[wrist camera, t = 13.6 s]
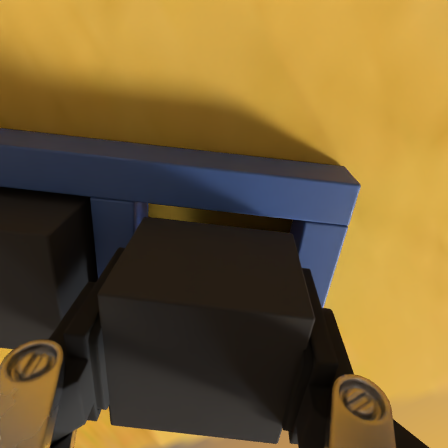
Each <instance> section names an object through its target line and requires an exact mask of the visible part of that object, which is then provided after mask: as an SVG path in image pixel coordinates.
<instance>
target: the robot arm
mask: <svg viewBox="0 0 448 448" xmlns="http://www.w3.org/2000/svg"><path fill="white" fill-rule="evenodd" d="M124 249H125V248H122V247H119V248H118V249H117V251H116V252H115V254H114V255H113V257H112V258H111V260H110V261H109V263H108V265H107V266H106V268H105V269H104V271H103V272H102V274H101V275H100V277H99V279H98V280H97V282H88V283H87V284H86V285H85V287H84V288H83V290H82V291H81V293H80V294H79V295H78V297H77V298H76V300H75V301H74V303H73V304H72V306H71V307H70V309H69V310H68V312H67V313H66V315H65V316H64V317H63V319H62V320H61V322H60V323H59V325H58V326H57V328H56V329H55V331H54V332H53V334H52V335H51V337H50V338H49V339H39V340H33V341H29V342H27V343H24V344H22V345H20V346H18V347H17V348H15V349H14V350H12V351H11V352H10V353H9V354H8V355H7V356H6V357H5V358H4V360H3V361H2V363H1V364H0V448H74V445H75V438H76V432H77V428H79V427H81V426H82V425H84V424H85V423H86V421H87V420H91V421H97V419H98V417H99V414H100V412H101V409H103V410H106V409H107V408H108V406H109V404H110V402H109V392H108V383H107V373H106V363H105V353H104V344H103V334H102V326H100V316H99V307H98V297H97V294H98V292H99V290H100V289H101V287H102V285H103V284H104V282H105V281H106V279H107V277H108V276H109V274H110V272H111V271H112V269H113V267H114V266H115V264H116V262H117V261H118V259H119V257H120V256H121V254H122V253H123V251H124ZM302 270H303V274H304V278H305V282H306V285H307V289H308V293H309V297H310V300H311V304H312V308H313V312H314V315H315V322H314V325H313V328H312V332H311V335H310V338H309V342H308V345H307V348H306V349H305V350H303V354H302V357H301V361H300V364H299V367H298V371H297V374H296V377H295V381H294V384H293V387H292V391H291V394H290V397H289V401H288V404H287V408H286V411H285V414H284V418H283V421H282V428H283V430H286V431H289V440H290V443H291V444H298V446H299V448H429V447H427V446H426V445H425V444H424V443H423V442H421V441H420V440H419V439H418V438H416V437H415V436H414V435H413V434H411V433H410V432H409V431H407V430H406V429H405V428H404V427H402V426H401V425H400V424H399V423H397V422H396V421H395V420H394V419H393V417H392V409H391V405H390V402H389V400H388V398H387V396H386V395H385V393H384V392H383V391H382V390H381V389H380V388H379V387H378V386H377V385H376V384H374V383H373V382H372V381H370V380H369V379H366V378H364V377H362V376H359V375H354V373H353V370H352V367H351V364H350V361H349V358H348V355H347V352H346V349H345V346H344V344H343V341H342V338H341V335H340V332H339V329H338V326H337V323H336V320H335V317H334V314H333V312H332V310H331V309H327V308H322V307H321V304H320V300H319V297H318V294H317V290H316V287H315V284H314V280H313V277H312V274H311V270H310V269H308V268H302Z"/></svg>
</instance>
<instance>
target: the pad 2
mask: <svg viewBox="0 0 448 448" xmlns="http://www.w3.org/2000/svg"><path fill="white" fill-rule="evenodd" d="M97 297H98V307H99V316H100V326H102V334H103V344H104V353H105V363H106V373H107V383H108V392H109V402H110V404H109V411H110V421H111V425H115V426H124V427H133V428H142V429H150V430H159V431H168V432H177V433H185V434H194V435H203V436H212V437H220V438H229V439H238V440H247V441H256V442H264V443H273V444H277V443H278V441H279V437H280V434H281V431H282V421H283V418H284V414H285V411H286V408H287V404H288V401H289V397H290V394H291V391H292V387H293V384H294V381H295V377H296V374H297V371H298V367H299V364H300V361H301V357H302V354H303V350H305V349H306V348H307V345H308V342H309V338H310V335H311V332H312V328H313V325H314V322H315V315H314V312H313V308H312V304H311V300H310V297H309V293H308V289H307V285H306V282H305V278H304V274H303V270H302V267H301V263H300V259H299V255H298V252H297V248H296V244H295V240H294V236H293V234H292V233H285V232H276V231H267V230H258V229H249V228H240V227H232V226H223V225H214V224H205V223H196V222H187V221H178V220H169V219H160V218H151V217H144V218H143V220H142V221H141V223H140V225H139V226H138V228H137V230H136V231H135V233H134V234H133V236H132V238H131V239H130V241H129V243H128V244H127V246H126V248H125V249H124V251H123V253H122V254H121V256H120V257H119V259H118V261H117V262H116V264H115V266H114V267H113V269H112V271H111V272H110V274H109V276H108V277H107V279H106V281H105V282H104V284H103V285H102V287H101V289H100V290H99V292H98V294H97Z"/></svg>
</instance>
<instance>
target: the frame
mask: <svg viewBox="0 0 448 448" xmlns="http://www.w3.org/2000/svg"><path fill="white" fill-rule="evenodd" d="M0 187H7V188H16V189H25V190H34V191H43V192H52V193H61V194H70V195H79V196H88V197H91V198H90V202H91V212H92V223H93V233H94V243H95V253H96V263H97V274H98V279H99V277H100V275H101V274H102V272H103V271H104V269H105V268H106V266H107V265H108V263H109V261H110V260H111V258H112V257H113V255H114V254H115V252H116V251H117V249H118V248H119V247H122V248H126V246H127V244H128V243H129V241H130V239H131V238H132V236H133V234H134V233H135V231H136V230H137V228H138V226H139V225H140V223H141V221H142V220H143V218H144V217H148V203H150V204H159V205H168V206H177V207H186V208H195V209H204V210H213V211H222V212H231V213H240V214H249V215H258V216H267V217H275V218H284V219H292V224H291V229H290V233H292V234H293V236H294V240H295V244H296V248H297V252H298V255H299V259H300V263H301V267H302V268H308V269H310V270H311V274H312V277H313V280H314V284H315V287H316V290H317V294H318V297H319V300H320V304H321V307H322V308H323V307H324V304H325V300H326V297H327V294H328V291H329V287H330V284H331V281H332V278H333V274H334V271H335V268H336V265H337V261H338V258H339V255H340V252H341V249H342V245H343V242H344V239H345V236H346V232H347V229H348V226H347V225H349V223H350V219H351V216H352V213H353V210H354V206H355V203H356V200H357V197H358V193H359V190H360V187H361V186H360V184H359V183H358V181H357V180H356V179H355V178H354V177H353V176H352V175H351V174H350V172H349V171H348V170H347V169H346V168H345V167H344V166H336V165H327V164H318V163H309V162H300V161H291V160H282V159H273V158H264V157H255V156H247V155H238V154H229V153H220V152H211V151H202V150H193V149H184V148H175V147H166V146H157V145H148V144H139V143H130V142H121V141H112V140H103V139H94V138H85V137H76V136H67V135H58V134H49V133H40V132H31V131H22V130H13V129H4V128H0Z"/></svg>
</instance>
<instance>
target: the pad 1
mask: <svg viewBox="0 0 448 448" xmlns="http://www.w3.org/2000/svg"><path fill="white" fill-rule="evenodd" d="M90 198H91V197H88V196H79V195H70V194H61V193H52V192H43V191H34V190H25V189H16V188H7V187H0V348H8V349H15V348H17V347H18V346H20V345H22V344H24V343H27V342H29V341H33V340H39V339H49V338H50V337H51V335H52V334H53V332H54V331H55V329H56V328H57V326H58V325H59V323H60V322H61V320H62V319H63V317H64V316H65V315H66V313H67V312H68V310H69V309H70V307H71V306H72V304H73V303H74V301H75V300H76V298H77V297H78V295H79V294H80V293H81V291H82V290H83V288H84V287H85V285H86V284H87V283H88V282H97V280H98V274H97V263H96V253H95V243H94V233H93V223H92V212H91V202H90Z"/></svg>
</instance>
